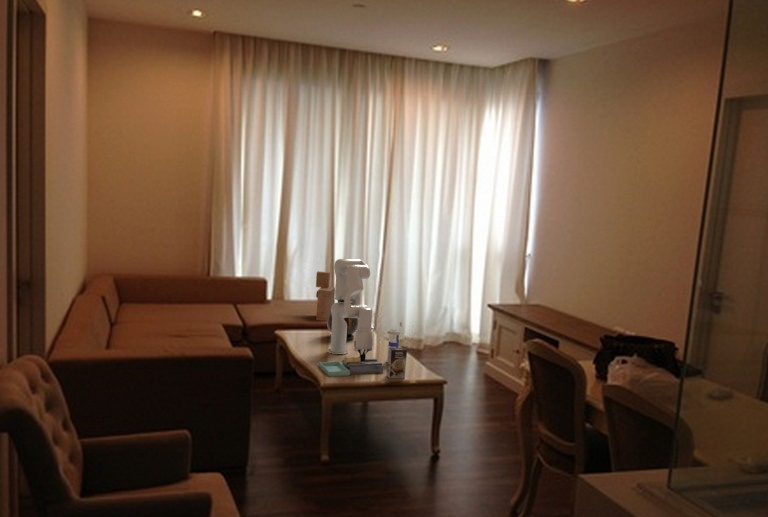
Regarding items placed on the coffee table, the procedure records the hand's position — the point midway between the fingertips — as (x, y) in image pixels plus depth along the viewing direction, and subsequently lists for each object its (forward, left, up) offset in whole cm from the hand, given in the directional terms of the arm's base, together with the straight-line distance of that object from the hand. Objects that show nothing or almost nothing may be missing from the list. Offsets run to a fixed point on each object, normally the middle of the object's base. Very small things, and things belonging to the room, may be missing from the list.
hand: (362, 360), depth 387 cm
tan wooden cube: (0, -8, -1) cm, 8 cm away
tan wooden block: (0, -4, -1) cm, 4 cm away
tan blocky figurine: (-145, +20, -6) cm, 147 cm away
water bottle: (-14, +24, -6) cm, 29 cm away
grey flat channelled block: (0, 0, -5) cm, 5 cm away
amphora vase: (-78, +13, -6) cm, 80 cm away
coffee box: (+16, +14, -6) cm, 22 cm away
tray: (0, -17, -5) cm, 17 cm away
